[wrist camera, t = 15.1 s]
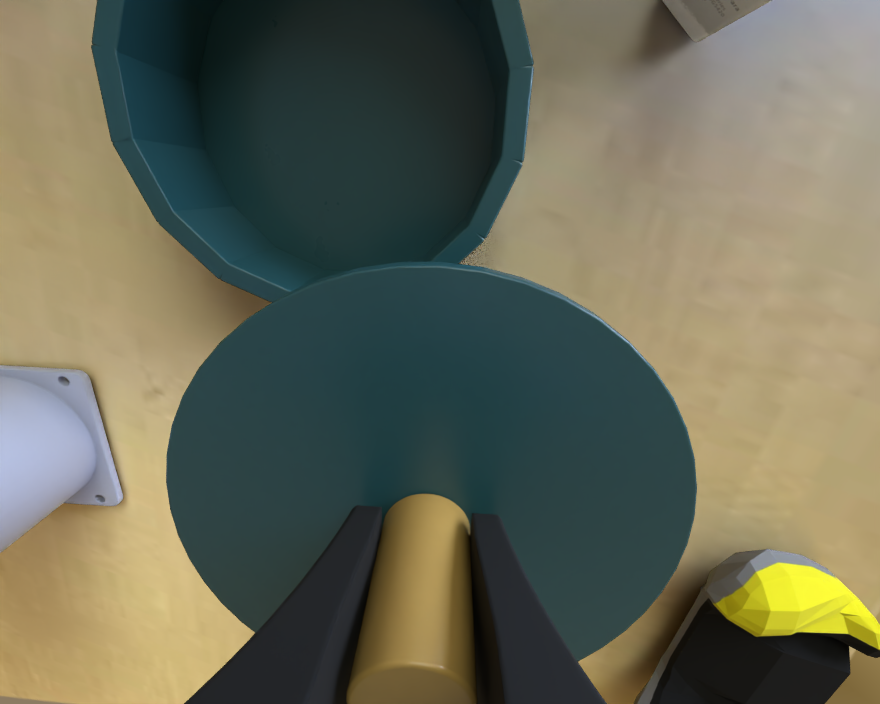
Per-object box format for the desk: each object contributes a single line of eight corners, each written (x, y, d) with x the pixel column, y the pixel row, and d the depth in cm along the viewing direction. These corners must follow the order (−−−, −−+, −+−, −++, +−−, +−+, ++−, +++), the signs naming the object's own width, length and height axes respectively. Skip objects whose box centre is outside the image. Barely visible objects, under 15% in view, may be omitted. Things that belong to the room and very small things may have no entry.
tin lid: (225, 642, 14) (109, 870, 9) (146, 239, 9) (-173, 290, 5) (618, 669, 14) (702, 917, 9) (743, 274, 9) (1051, 366, 4)
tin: (215, 277, 19) (145, 303, 14) (161, -90, 14) (36, -208, 10) (494, 292, 18) (506, 323, 14) (530, -75, 14) (562, -189, 10)
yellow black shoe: (592, 681, 28) (737, 706, 28) (623, 794, 22) (801, 822, 23) (684, 502, 22) (863, 536, 22) (752, 597, 17) (983, 638, 17)
